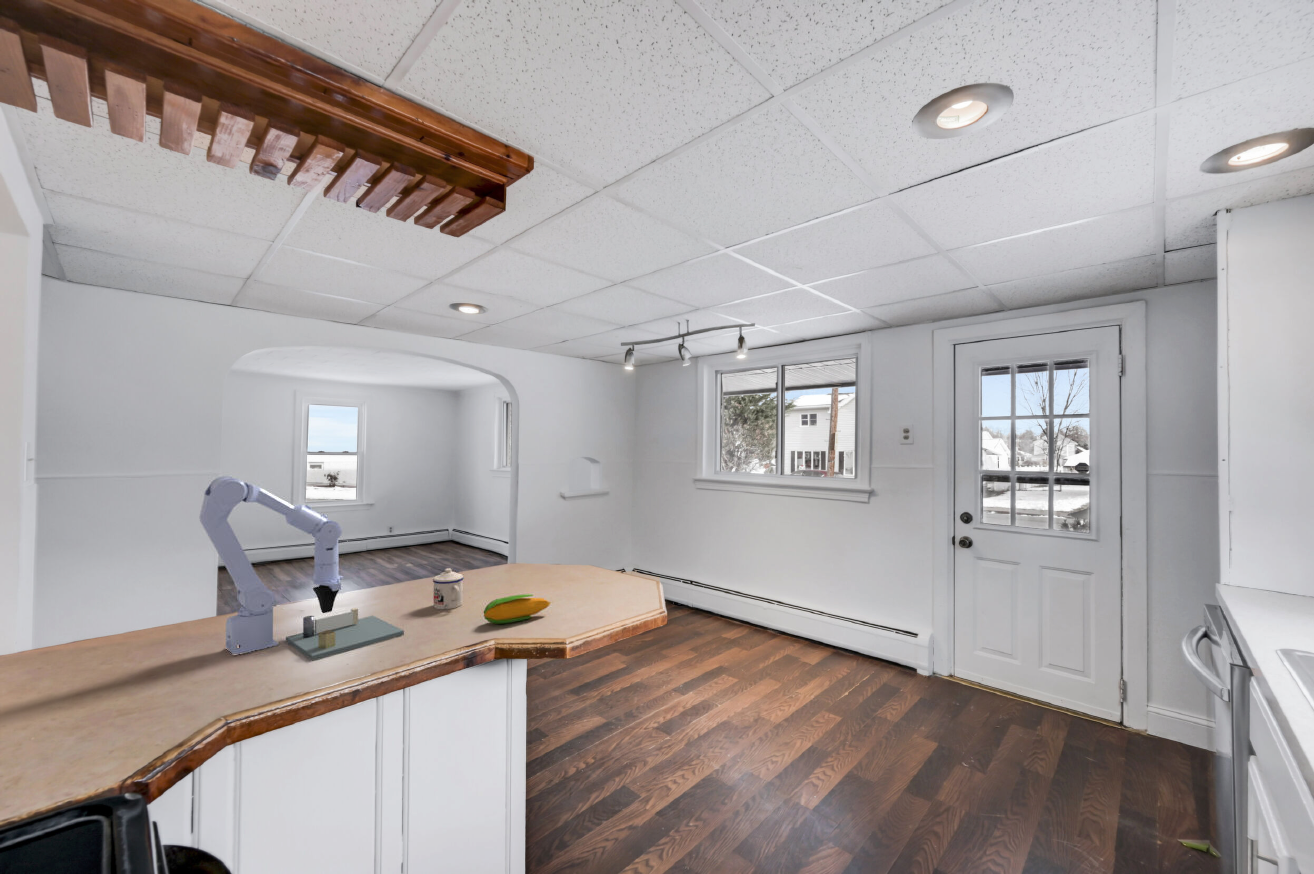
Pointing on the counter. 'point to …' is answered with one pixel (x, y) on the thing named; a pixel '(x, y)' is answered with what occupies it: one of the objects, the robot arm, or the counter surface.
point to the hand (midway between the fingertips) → (326, 611)
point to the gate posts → (324, 638)
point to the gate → (336, 620)
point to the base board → (347, 638)
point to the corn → (513, 608)
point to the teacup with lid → (448, 590)
